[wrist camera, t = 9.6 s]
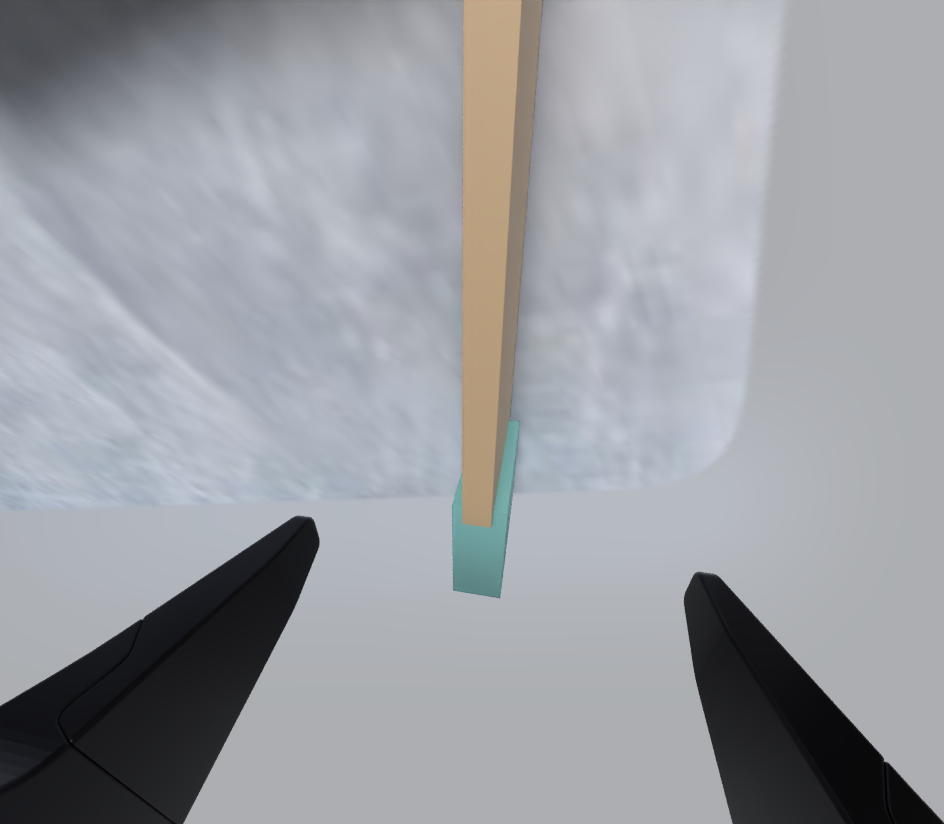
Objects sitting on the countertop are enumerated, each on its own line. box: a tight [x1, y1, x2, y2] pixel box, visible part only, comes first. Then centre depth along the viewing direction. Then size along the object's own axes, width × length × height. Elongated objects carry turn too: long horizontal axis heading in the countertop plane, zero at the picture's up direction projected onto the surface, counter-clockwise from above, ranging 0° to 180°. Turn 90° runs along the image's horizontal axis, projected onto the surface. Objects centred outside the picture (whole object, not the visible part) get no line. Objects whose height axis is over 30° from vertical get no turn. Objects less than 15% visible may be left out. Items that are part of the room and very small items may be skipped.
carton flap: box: [452, 0, 543, 598], centre depth 7 cm, size 16×1×4 cm, turn 179°
